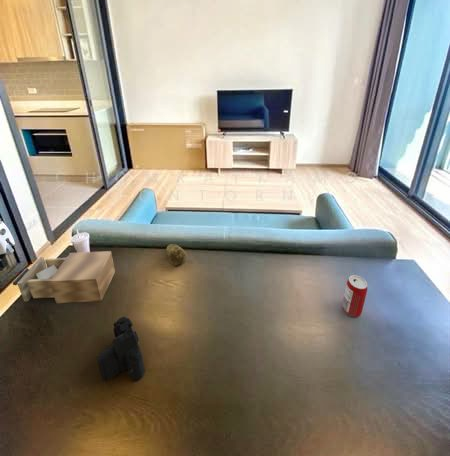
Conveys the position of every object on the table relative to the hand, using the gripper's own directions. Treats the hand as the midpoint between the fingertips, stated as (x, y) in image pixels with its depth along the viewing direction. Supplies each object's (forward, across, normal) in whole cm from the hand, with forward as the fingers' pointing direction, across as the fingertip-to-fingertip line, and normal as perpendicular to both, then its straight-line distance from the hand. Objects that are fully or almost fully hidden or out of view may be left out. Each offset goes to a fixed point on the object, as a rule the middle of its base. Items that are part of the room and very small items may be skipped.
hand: (2, 268), depth 84 cm
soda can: (+11, -114, +14) cm, 115 cm away
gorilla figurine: (+10, -46, +25) cm, 54 cm away
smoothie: (+10, -18, -15) cm, 26 cm away
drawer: (+9, -13, 0) cm, 16 cm away
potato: (+10, -56, -10) cm, 58 cm away
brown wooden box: (+10, -26, 0) cm, 28 cm away
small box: (+8, -14, 0) cm, 16 cm away
